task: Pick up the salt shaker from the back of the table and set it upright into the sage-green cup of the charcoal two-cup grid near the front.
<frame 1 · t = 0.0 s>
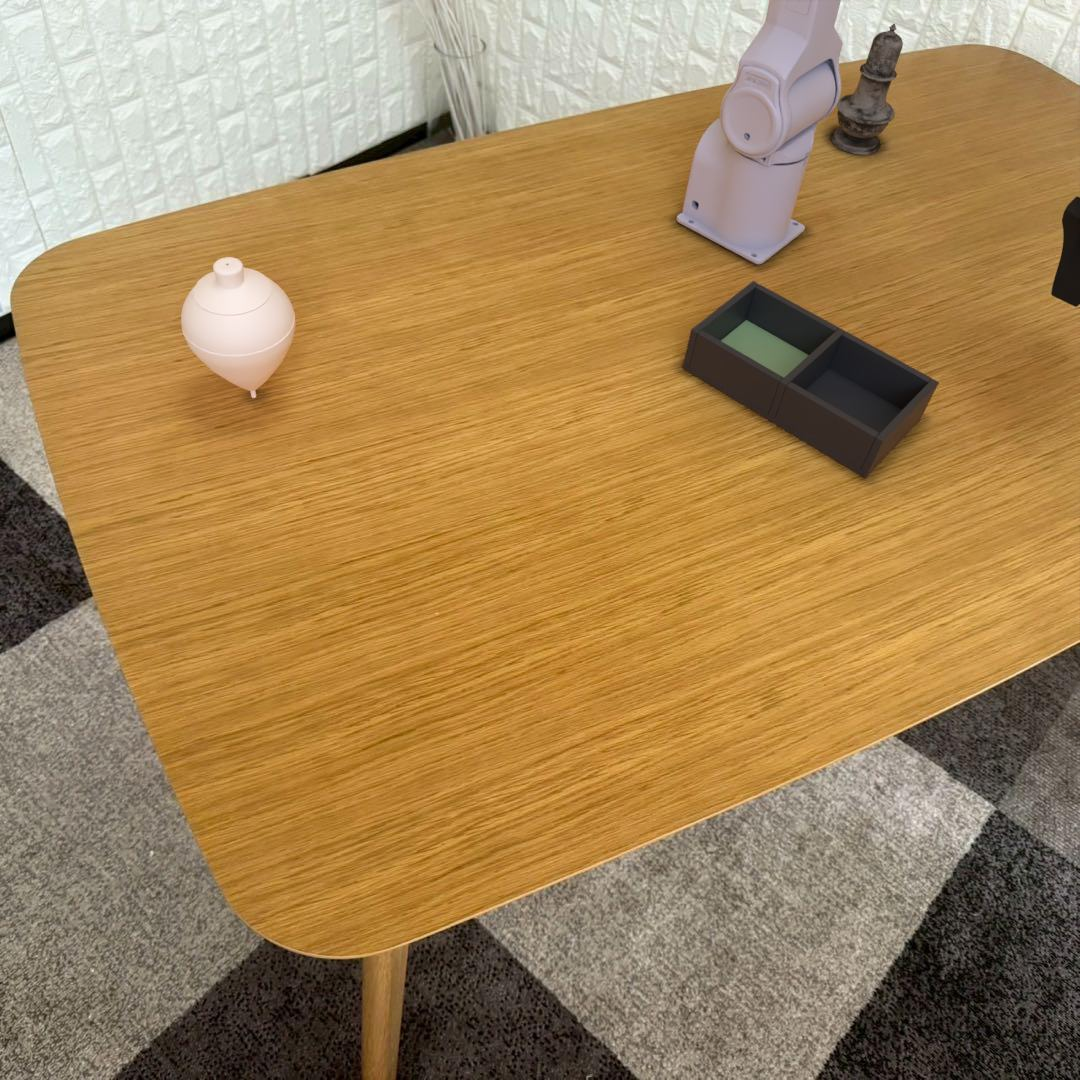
grid: (799, 393, 81), on the table
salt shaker: (854, 142, 106), on the table
spinning top: (254, 399, 77), on the table
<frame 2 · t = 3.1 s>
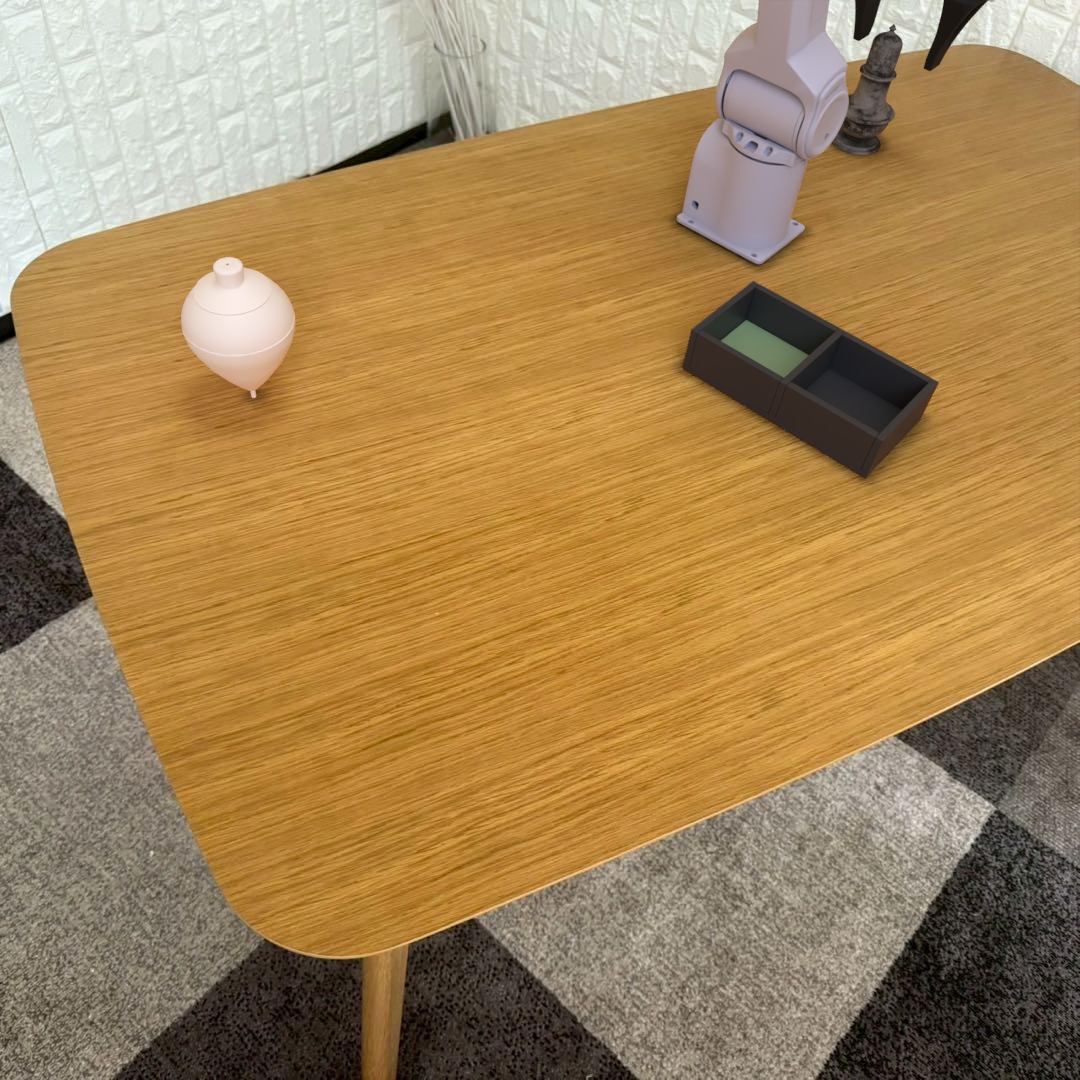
hand: (895, 51, 97), 10 cm above the table, tool pointing down, fingers open, 7 cm apart
nothing on the table moved.
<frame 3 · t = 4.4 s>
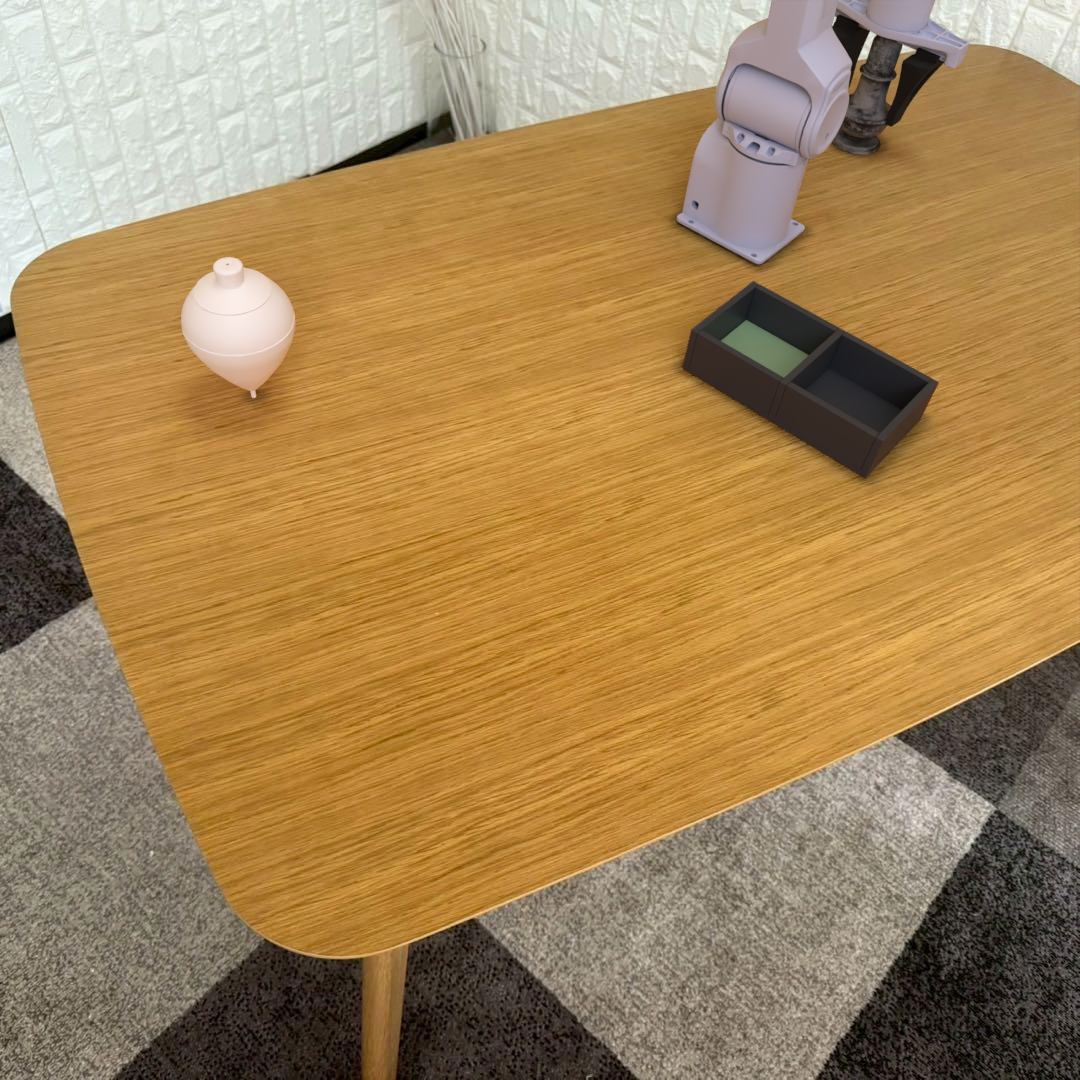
hand: (865, 110, 103), 3 cm above the table, tool pointing down, fingers closed on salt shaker, 6 cm apart
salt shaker: (854, 142, 106), on the table, touching gripper
everything else where it was.
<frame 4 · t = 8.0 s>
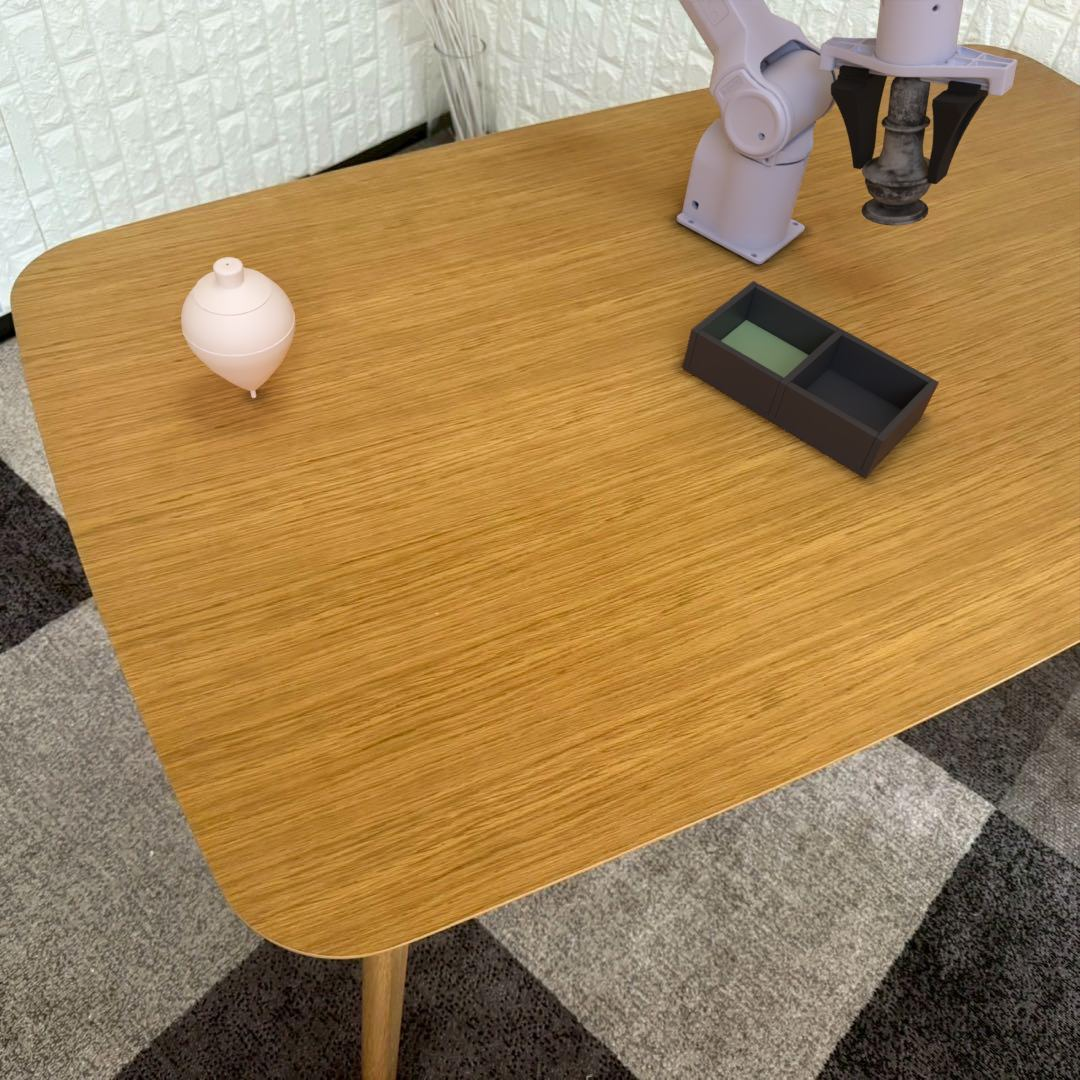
hand: (899, 171, 82), 11 cm above the table, tool pointing down, fingers closed on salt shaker, 6 cm apart
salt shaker: (894, 213, 85), point 8 cm above the table, touching gripper
everything else where it was.
when the fingers open (4 cm above the table, at t = 12.0 s): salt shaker stays where it is, resting on grid.
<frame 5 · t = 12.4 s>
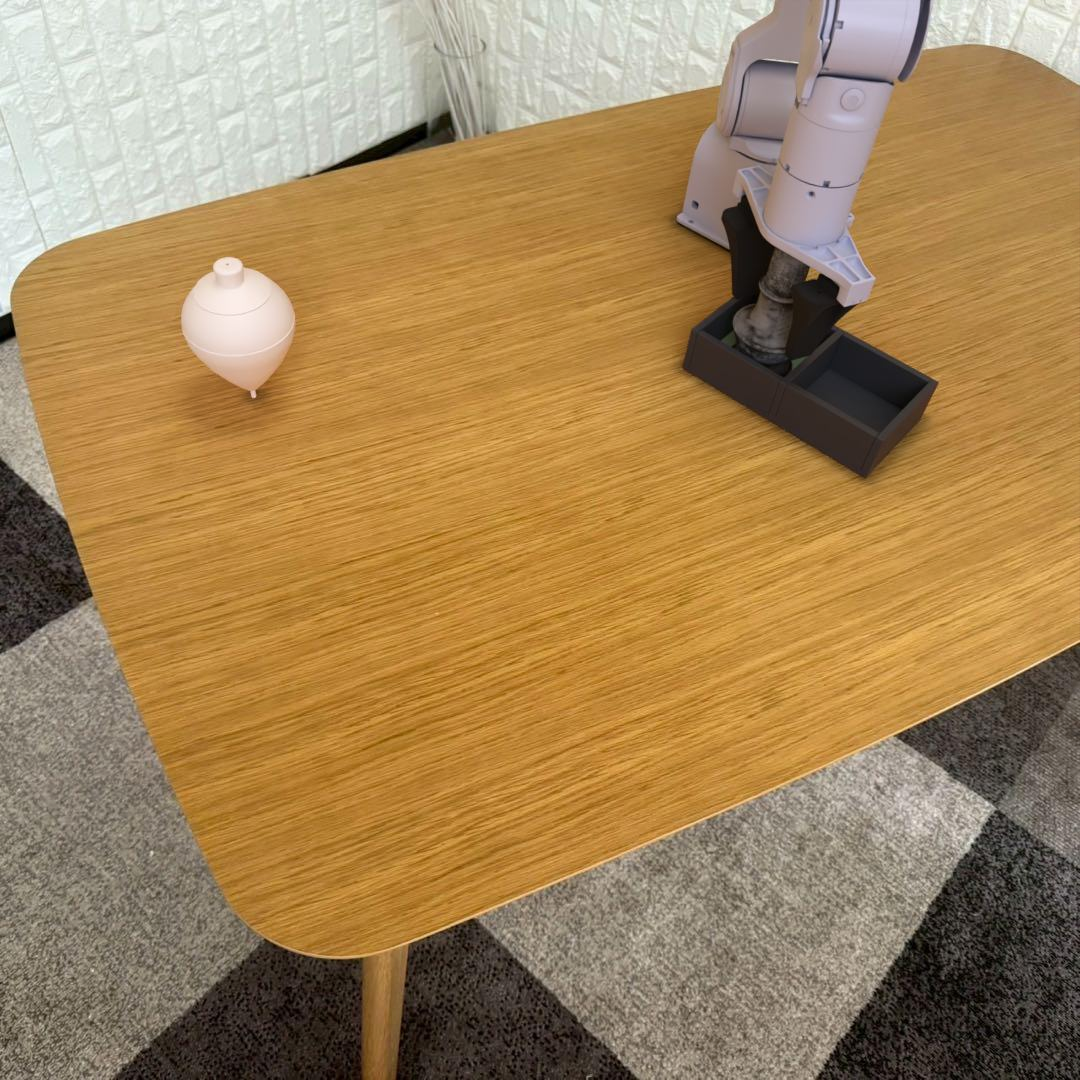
hand: (771, 324, 79), 5 cm above the table, tool pointing down, fingers open, 7 cm apart
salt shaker: (758, 363, 82), point 1 cm above the table, touching grid
everything else where it was.
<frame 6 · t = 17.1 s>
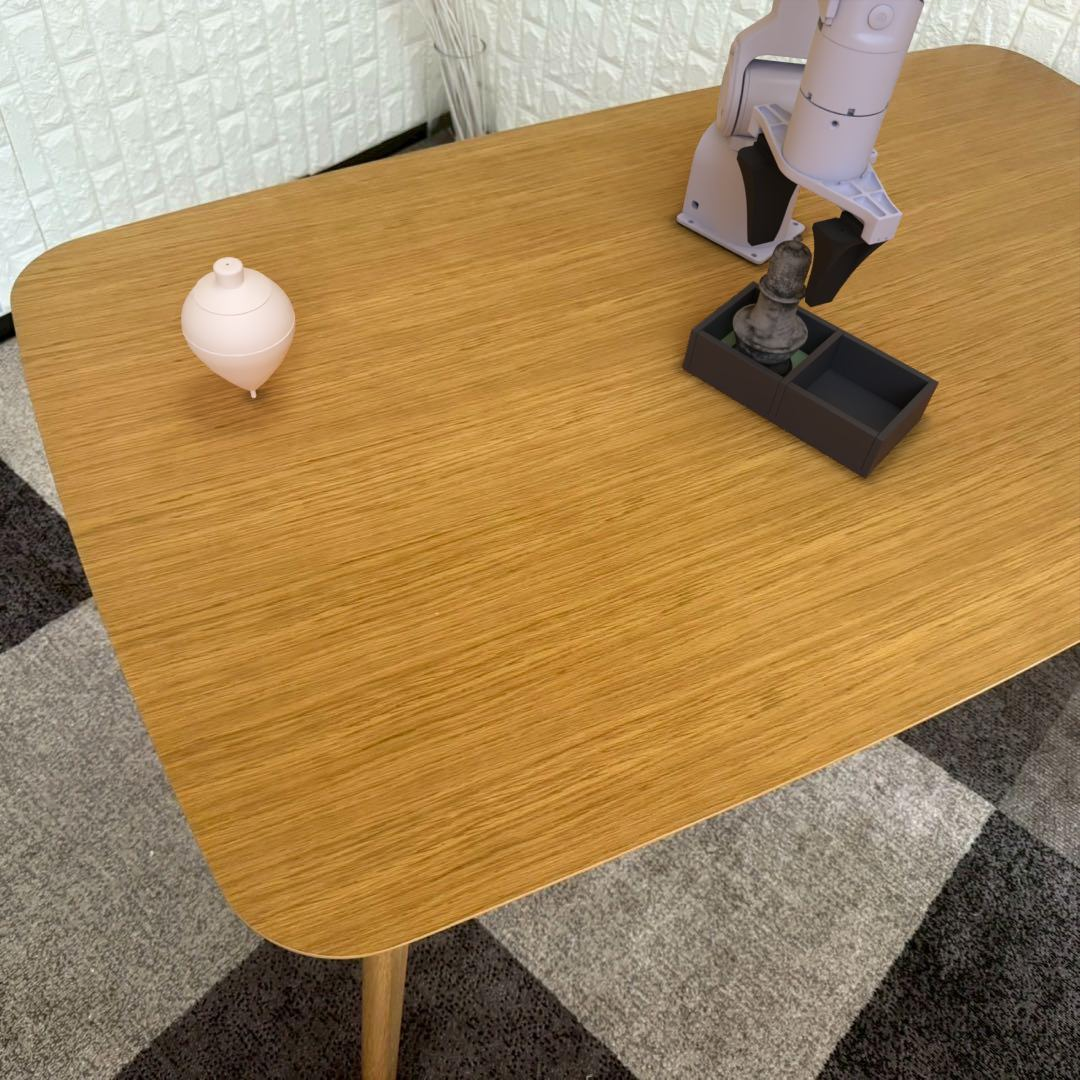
hand: (788, 270, 75), 9 cm above the table, tool pointing down, fingers open, 7 cm apart
nothing on the table moved.
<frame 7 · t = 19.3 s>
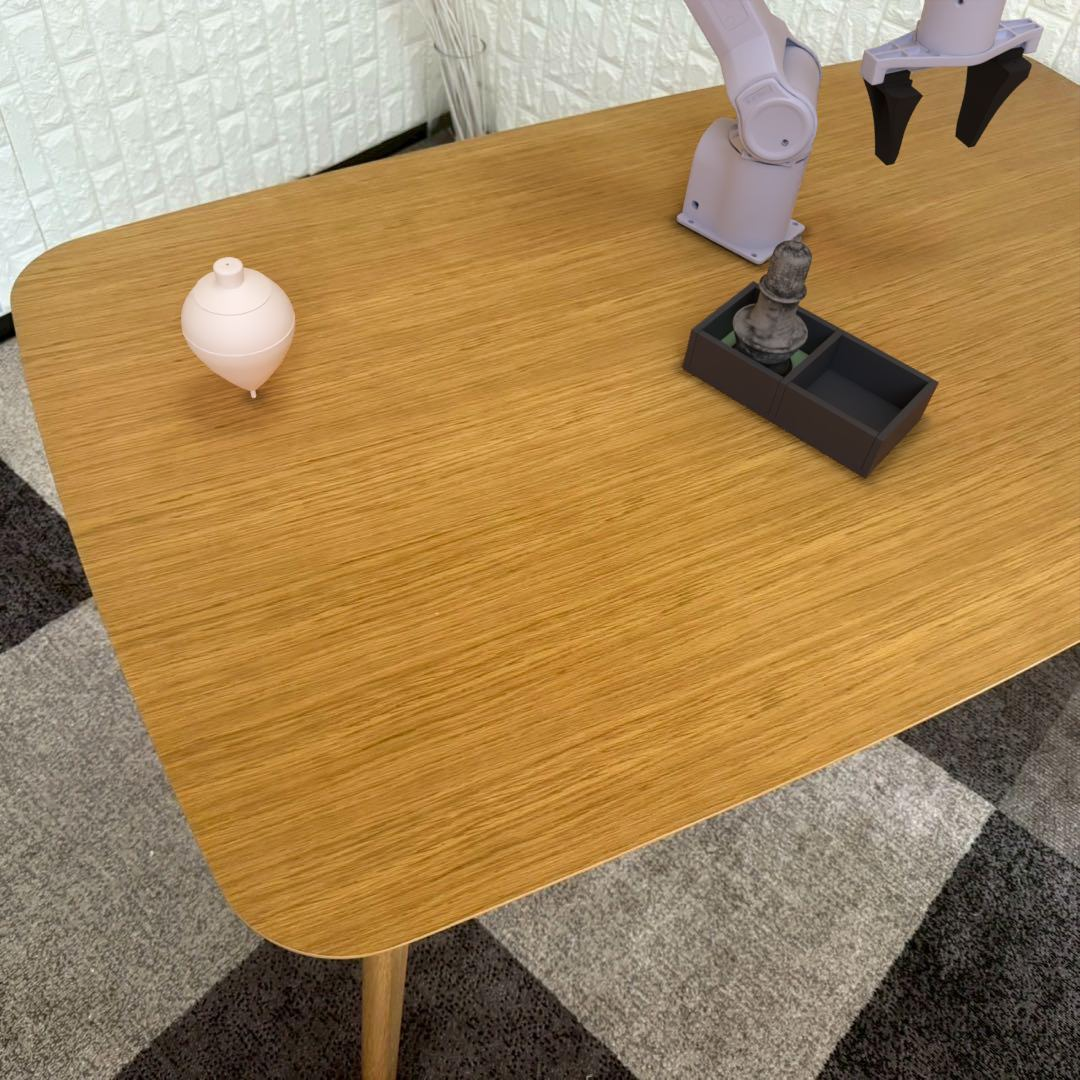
hand: (924, 150, 85), 11 cm above the table, tool pointing down, fingers open, 7 cm apart
nothing on the table moved.
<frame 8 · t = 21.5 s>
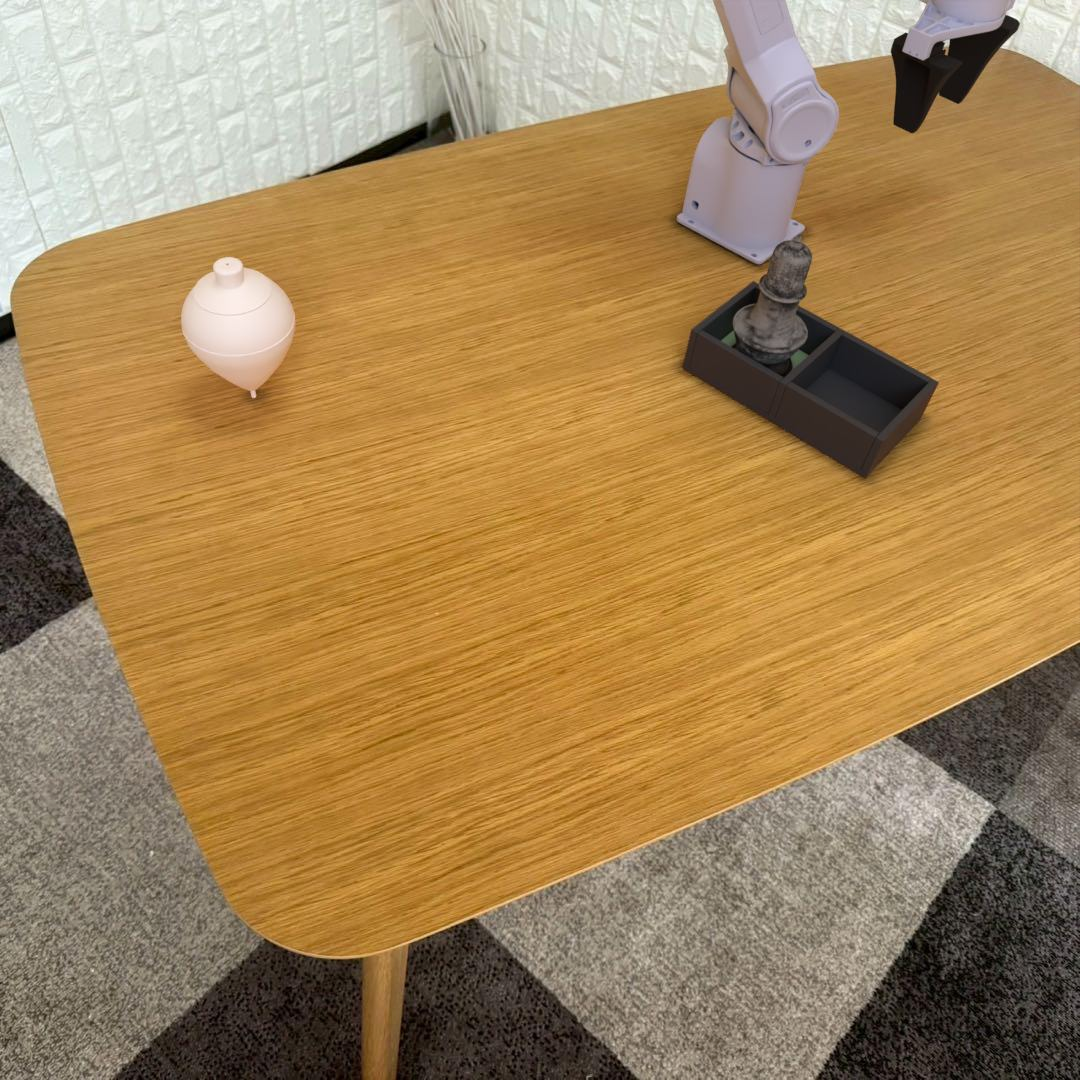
hand: (928, 113, 90), 10 cm above the table, tool pointing down, fingers open, 7 cm apart
nothing on the table moved.
at the end: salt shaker 0.1 cm from the target spot in the grid, point 0.5 cm above the grid's base; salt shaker tilted 0° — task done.
